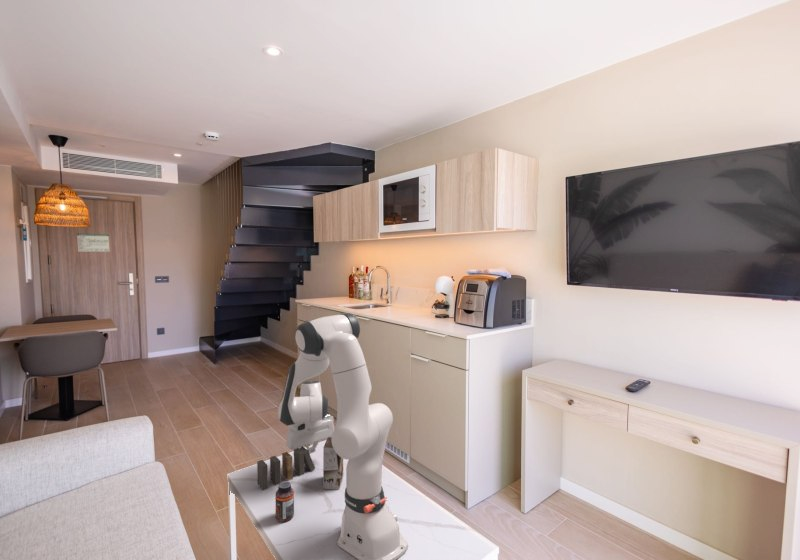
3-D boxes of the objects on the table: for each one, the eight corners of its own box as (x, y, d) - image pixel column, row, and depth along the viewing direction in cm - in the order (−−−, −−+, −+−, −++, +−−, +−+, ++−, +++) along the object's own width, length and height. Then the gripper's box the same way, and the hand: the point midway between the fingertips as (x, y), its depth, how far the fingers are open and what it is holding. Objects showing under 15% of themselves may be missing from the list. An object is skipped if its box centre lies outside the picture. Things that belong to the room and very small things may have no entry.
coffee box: (339, 489, 147) (339, 447, 146) (322, 489, 148) (322, 447, 147) (343, 476, 156) (343, 436, 156) (327, 475, 157) (327, 436, 156)
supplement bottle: (272, 516, 132) (272, 483, 131) (289, 508, 136) (289, 477, 135) (280, 525, 128) (279, 491, 127) (297, 517, 131) (296, 484, 131)
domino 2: (280, 483, 151) (280, 460, 151) (275, 485, 150) (275, 462, 149) (275, 477, 155) (275, 455, 154) (270, 479, 154) (270, 457, 153)
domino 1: (267, 488, 148) (267, 465, 147) (262, 490, 147) (262, 466, 146) (262, 482, 152) (262, 459, 151) (257, 484, 150) (257, 461, 150)
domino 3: (292, 478, 154) (292, 456, 154) (287, 480, 153) (287, 458, 152) (287, 473, 158) (286, 451, 158) (282, 475, 157) (282, 453, 156)
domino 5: (315, 468, 161) (308, 450, 158) (311, 471, 160) (303, 453, 157) (309, 463, 164) (302, 446, 162) (305, 466, 163) (298, 449, 161)
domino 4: (304, 474, 158) (303, 452, 157) (299, 476, 156) (299, 454, 156) (298, 469, 161) (298, 447, 161) (294, 470, 160) (293, 449, 159)
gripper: (329, 411, 170) (329, 442, 171) (284, 423, 157) (284, 457, 158) (337, 415, 165) (337, 447, 166) (291, 429, 152) (291, 463, 153)
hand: (311, 452), depth 162 cm, fingers closed
